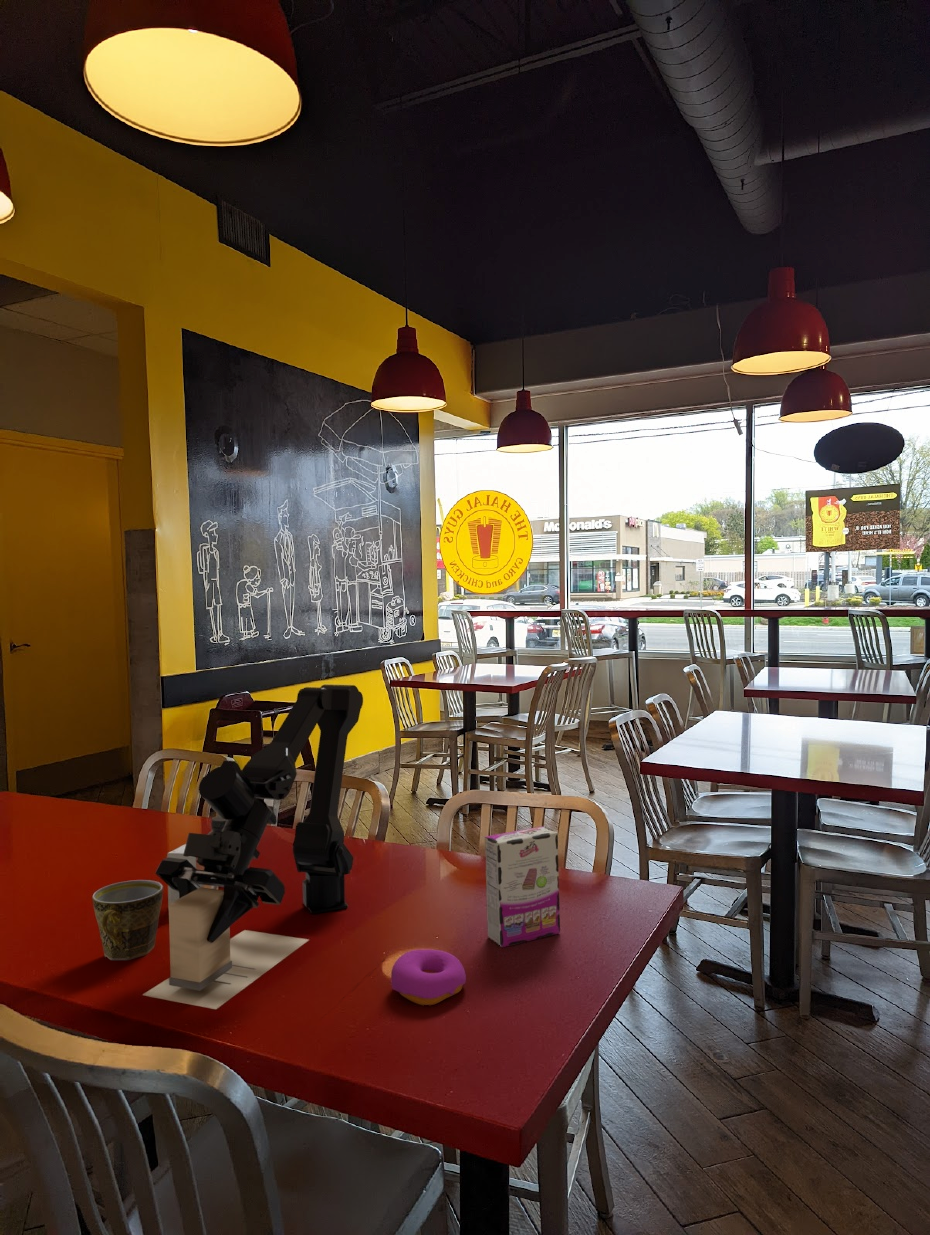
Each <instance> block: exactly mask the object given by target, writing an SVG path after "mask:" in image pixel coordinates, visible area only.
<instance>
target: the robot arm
mask: <svg viewBox="0 0 930 1235" xmlns="http://www.w3.org/2000/svg"><path fill="white" fill-rule="evenodd" d="M363 705H364V696H363V693H362V692H361V691H359V688H358V686H356V685H354V684H323V685H321V686H319V687H316V686H315V687H314V686H313V687H309V686H306V687H303V688H300V690H298V692H297V696H296V701H295V703H294V704H293V706H292V707H291V708H290V710H289V712H288V714H287V715H286V717H285V718H284V721H283V722H282V724H281V725H280V727H279V729H278V730H277V732H276V734H274V737H273V738H272V739H271V741H270V743H269V744H268V745H267V746H265V747H264V748H262V749H261V750H259V751H257V752H256V753H254V754H253V755H252V757H251V758H250V759H249V760H248V761H247V762H246V763H245V764H244V766H243V768H242V769H241V766H240V765H239V763H238V762H237V761H236V760H223V761H222V764H221V766H218V767H215V768H213V769H212V770H211V771H209V772H208V773H206V774H205V776H203V777H202V778H201V781H200V782H199V786H198V793H199V795H200V797H201V798H203V799H204V800H205V802H206V803H207V805H209V806H210V808H211V809H212V810H213V811H214V812H215V813H216V814H217V816H220V817H221V818H223V819H226V820H227V821H226V823H225V825H224V827H223V829H222V832H221V831H215V832H214V833H213V835H208V834H205V833H197V832H196V833H195V832H188V835H187V838H186V843H185V844H186V846H185V850H184V854H183V856H186V857H188V856H192V857H197V858H198V859H197V861H196V862H197V863H198V864H199V865H200V866H204V867H205V868H204V870H197V869H196V868H195V867H194V866H193V865H192V864H191V863H190V862H189V861H188V860H186V859H178V858H169V857H168V858H167V857H166V858H163V859H161V862H160V863H159V864H158V866H157V868H156V871H155V875H156V876H158V877H159V879H160V880H162V881H163V882H164V883H165V884H166V885H167V887H168V886H170V887H171V888H172V889H173V890H175V891H178V892H179V898H181V897H183V896H185V895H187V894H189V893H191V892H193V891H195V890H197V889H198V888H200V887H203V885H210V886H218V888H219V887H220V888H223V890H224V895H223V901H222V903H221V906H220V908H219V910H218V912H217V915H216V917H215V919H214V921H213V924H212V926H211V928H210V931H209V934H208V937H207V941H209V942H210V943H213V942H214V941H215V940H216V939H217V938H218V937H219V936H220V935H221V934H223V933H224V932H225V931H226V930H227V929H228V928H229V927H231V926H232V925H233V924H235V922H237V921H238V920H239V919H240V918H241V917H243V916H244V915H246V913H248V912H249V911H251V910H252V909H254V908H256V909H257V908H258V907H259V906H260V903H259V902H258V900H259V898H260V901H261V902H262V903H263V904H268V905H278V906H279V905H281V903H282V901H283V899H284V896H285V894H286V891H285V890H286V889H285V885H284V882H282V880H281V879H280V878H279V877H278V876H277V875H276V873H275V872H274V871H273V870H272V869H270V868H262V867H253V866H250V864H251V862H252V859H254V860H258V858H259V856H260V854H261V852H260V851H259V850H258V849H257V847H258V846H259V844H260V841H261V839H262V836H263V835H264V832H265V830H266V827H267V825H276V824H277V816H276V813H275V811H274V806H273V805H268V803H266V802H265V800H270V801H271V800H272V801H273V800H274V801H279V800H285V799H286V798H287V796H288V795H289V794H290V791H291V790H292V788H293V785H294V782H295V780H296V777H297V775H298V774H297V767H296V763H297V760H298V757H299V756H300V754H301V753H302V751H303V749H304V747H305V746H306V743H307V742H308V740H309V738H310V736H311V735H312V733H313V731H314V730H315V728H316V726H318V729H319V730H320V732H319V733H320V734H319V740H318V748H317V753H316V754H317V755H316V762H315V771H314V777H313V785H312V791H311V799H310V806H309V812H308V814H307V815H306V817H305V818H304V819H303V821H302V822H301V821H298V822H297V823H296V825H295V829H294V830H295V832H294V833H295V834H294V839H293V842H292V853H293V859H294V863H295V867H296V870H297V873H305V879H303V880H302V903H303V905H304V906H305V907H306V908H307V910H309V912H310V913H311V914H313V915H314V914H320V913H324V912H325V913H326V912H330V911H336V910H342V909H347V908H349V904H348V903H347V901H346V897H345V896H346V895H345V894H346V893H345V892H346V890H345V884H346V883H345V880H346V879H345V876H346V875H350V873H351V870H352V869H353V865H354V855H353V854H352V852H350V850H349V849H348V848H347V846H346V845H345V830H344V828H343V826H342V823H341V821H340V819H339V816H338V812H339V807H340V805H339V804H340V797H341V796H340V795H341V789H342V783H343V782H342V781H343V774H344V772H343V771H344V766H345V758H346V751H347V750H346V749H347V742H348V736H349V734H350V732H351V731H352V730H353V729H354V727H355V726H356V725H357V723H358V722H359V718H360V715H361V709H362V708H363ZM249 866H250V867H249ZM211 878H212V879H211Z"/></svg>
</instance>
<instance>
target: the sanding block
mask: <svg viewBox="0 0 930 1235" xmlns="http://www.w3.org/2000/svg"><path fill="white" fill-rule="evenodd" d="M223 895H224V889H218V890H217V889H209V888H202V887H200V888H198V889H197V890H195V891H193V892H191V893H189V894H187V895H185V896H183V897H181V898H179V899H177V900H176V901H174V902H172V903H170V904H169V910H168V923H169V924H168V925H169V928H168V929H169V962H170V965H169V966H170V967H169V968H170V977H168V978H169V985H171V986H177V987H182V988H187V989H193V990H198V991H200V990H202V989H203V988H204V987H206V986H207V985H209V984H210V983H211V982H213V981H214V980H216V979H217V978H219V977H220V976H221V975H223V974H224V973H226V972H227V971H228V970H230V969H231V968H232V961H231V960H230V939H231V930H230V929H231V928H230V927H231V926H230V927H229V928H228V929H227V930H226V931H225V932H224V933H223V934H221V935H220V936H219V937H218V938H217V939H216V940H215V941H214V942H213V943H210V942H209V941H207V937H208V934H209V931H210V928H211V926H212V924H213V921H214V919H215V917H216V915H217V912H218V910H219V908H220V906H221V903H222V901H223Z"/></svg>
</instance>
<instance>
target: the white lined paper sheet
mask: <svg viewBox="0 0 930 1235" xmlns="http://www.w3.org/2000/svg"><path fill="white" fill-rule="evenodd" d="M309 941H310V939H309V938H308V939H307V938H301V937H293V936H288V935H287V936H286V935H281V934H274V933H269V932H268V933H267V932H259V931H254V930H248V929H247V930H246V929H244V930H242V931H241V932H239V933H237V934H235V935H234V936H232V937H230V960H231V961H232V968H231V969H230V970H228V971H227V972H226V973H224V974H223V975H221V976H220V977H219V978H217V979H216V980H214V981H213V982H211V983H210V984H209V985H207V986H206V987H204V988H203V989H202V990H200V991H198V990H193V989H187V988H182V987H177V986H171V985H169V978H170V977H168V978H167V979H165V980H163V981H162V982H160V983H159V984H157V985H156V986H154V987H152V988H151V989H149V990H148V991H146V992H144V993H143V994H142V996H144V997H145V996H146V997H150V998H153V999H154V998H155V999H160V1000H166V1001H170V1002H175V1003H182V1004H187V1005H191V1006H196V1007H202V1008H207V1009H211V1010H217V1009H219V1008H220V1007H222V1006H223V1005H224V1004H225V1003H227V1002H228V1001H230V1000H231V999H233V997H234V996H237V994H239V993H240V992H241V991H243V990H244V989H246V988H247V987H248V986H250V985H251V984H252V983H254V982H255V981H256V980H258V979H259V978H260V977H262V976H263V975H264V974H266V973H267V972H268V971H269V970H271V969H273V968H274V967H275V966H277V964H279V963H281V962H282V961H284V959H286V958H287V957H288V956H290V955H291V954H292V953H294V952H296V951H297V950H298V949H299V948H301V947H302V946H303V945H304V944H306V943H307V942H309Z"/></svg>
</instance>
